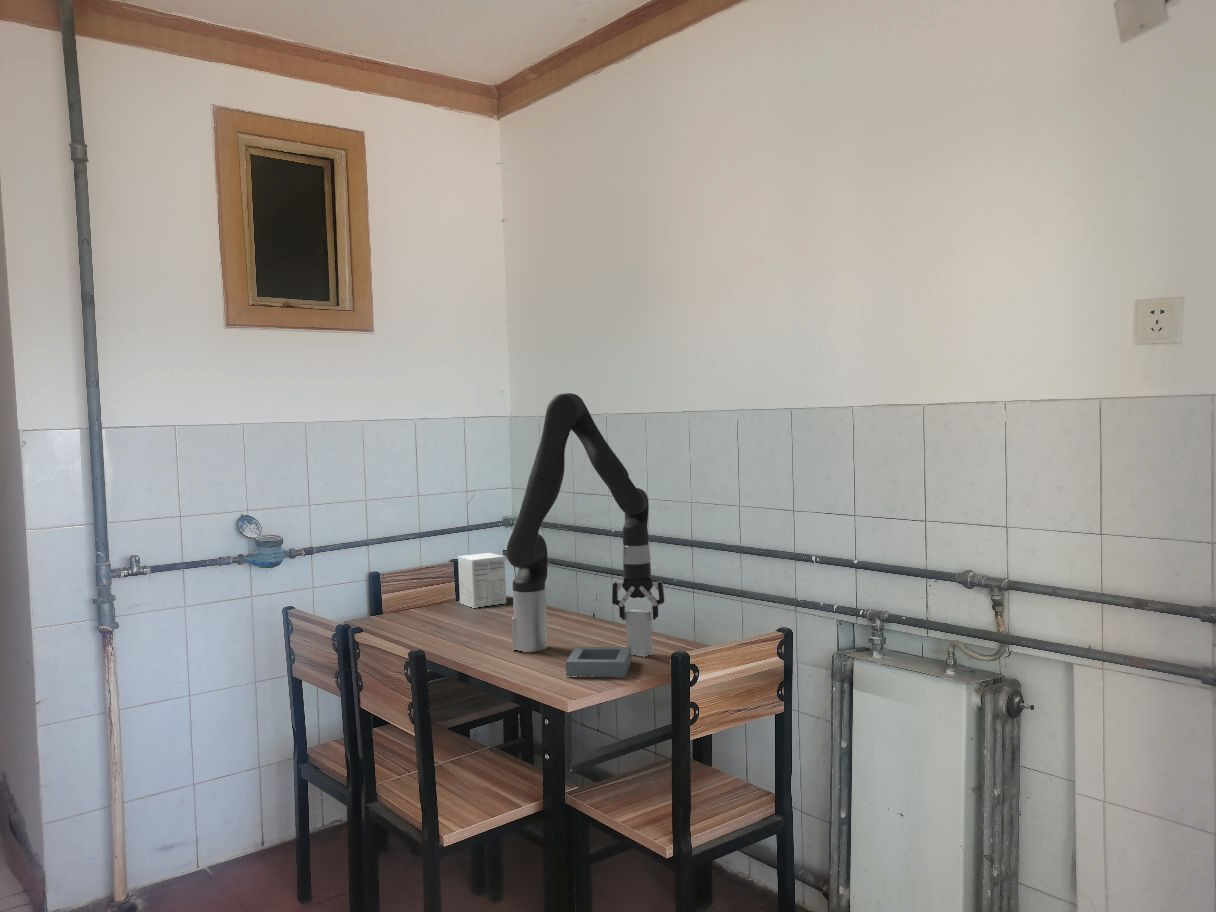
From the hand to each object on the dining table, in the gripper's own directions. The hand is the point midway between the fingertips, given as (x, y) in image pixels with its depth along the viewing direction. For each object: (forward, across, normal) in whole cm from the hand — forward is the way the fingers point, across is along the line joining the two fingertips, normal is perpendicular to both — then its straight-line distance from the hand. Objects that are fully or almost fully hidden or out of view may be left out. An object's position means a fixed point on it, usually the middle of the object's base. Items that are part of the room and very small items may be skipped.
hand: (639, 619), depth 250 cm
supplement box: (+9, -65, +70) cm, 96 cm away
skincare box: (+10, 0, 0) cm, 10 cm away
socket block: (+10, -9, -15) cm, 20 cm away
